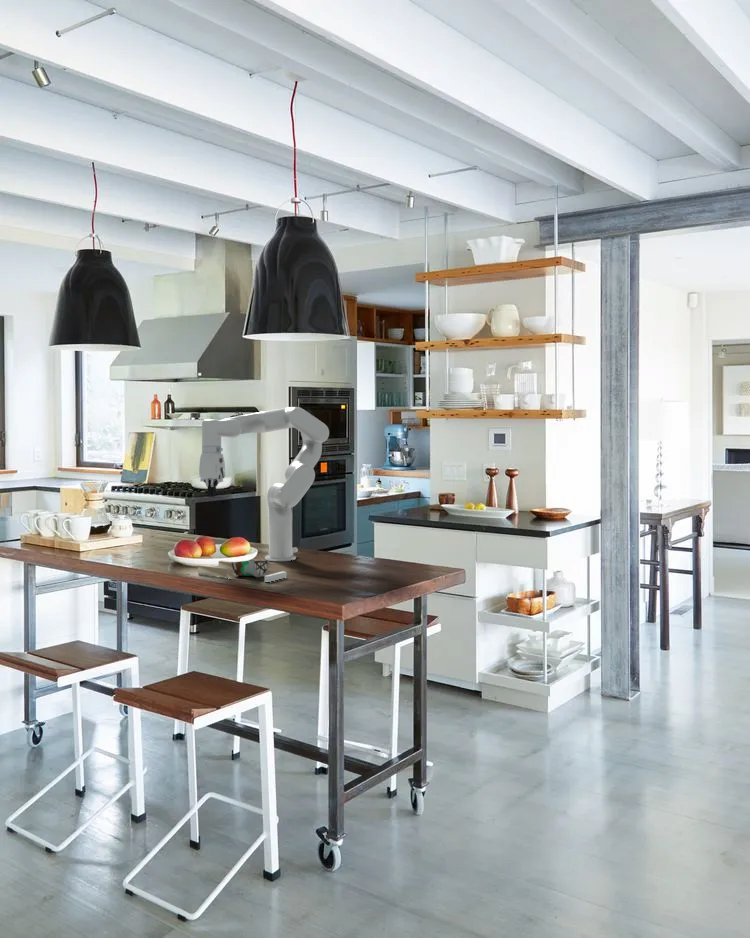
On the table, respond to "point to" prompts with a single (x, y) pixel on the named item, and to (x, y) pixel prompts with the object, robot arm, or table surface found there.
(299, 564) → the table surface
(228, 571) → the chute
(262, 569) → the food container
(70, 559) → the table surface
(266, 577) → the white notched bar
